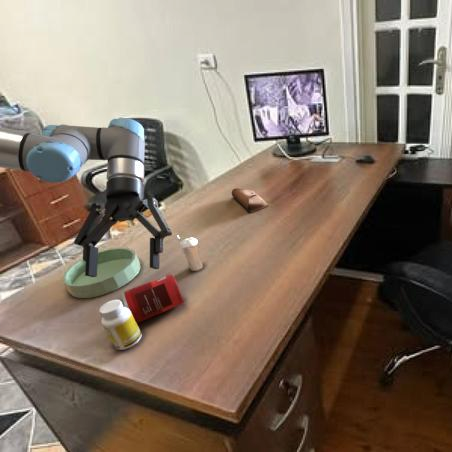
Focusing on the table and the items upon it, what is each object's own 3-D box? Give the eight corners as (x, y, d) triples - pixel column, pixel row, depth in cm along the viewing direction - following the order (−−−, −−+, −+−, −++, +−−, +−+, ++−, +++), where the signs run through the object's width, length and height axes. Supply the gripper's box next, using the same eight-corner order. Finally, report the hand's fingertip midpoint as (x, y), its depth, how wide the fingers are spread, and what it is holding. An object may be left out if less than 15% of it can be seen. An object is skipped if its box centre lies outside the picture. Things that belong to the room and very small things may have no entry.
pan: (54, 302, 89) (47, 290, 87) (90, 262, 104) (84, 251, 103) (124, 293, 90) (118, 281, 88) (149, 255, 105) (145, 244, 103)
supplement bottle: (146, 329, 77) (129, 295, 73) (136, 349, 73) (117, 314, 68) (121, 332, 77) (103, 298, 73) (109, 352, 73) (89, 317, 68)
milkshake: (193, 261, 100) (182, 231, 95) (208, 264, 98) (198, 233, 93) (182, 271, 96) (171, 240, 91) (198, 273, 94) (187, 242, 90)
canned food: (176, 282, 88) (128, 301, 83) (170, 267, 82) (118, 286, 77) (186, 308, 85) (137, 329, 80) (181, 294, 78) (127, 316, 74)
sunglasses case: (270, 204, 127) (258, 193, 123) (256, 218, 126) (244, 207, 122) (251, 190, 141) (240, 179, 137) (239, 203, 140) (228, 192, 136)
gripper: (185, 182, 86) (187, 267, 80) (82, 194, 85) (76, 281, 79) (172, 168, 78) (173, 261, 73) (59, 182, 77) (50, 277, 72)
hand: (122, 272), depth 76 cm, fingers open, 13 cm apart
